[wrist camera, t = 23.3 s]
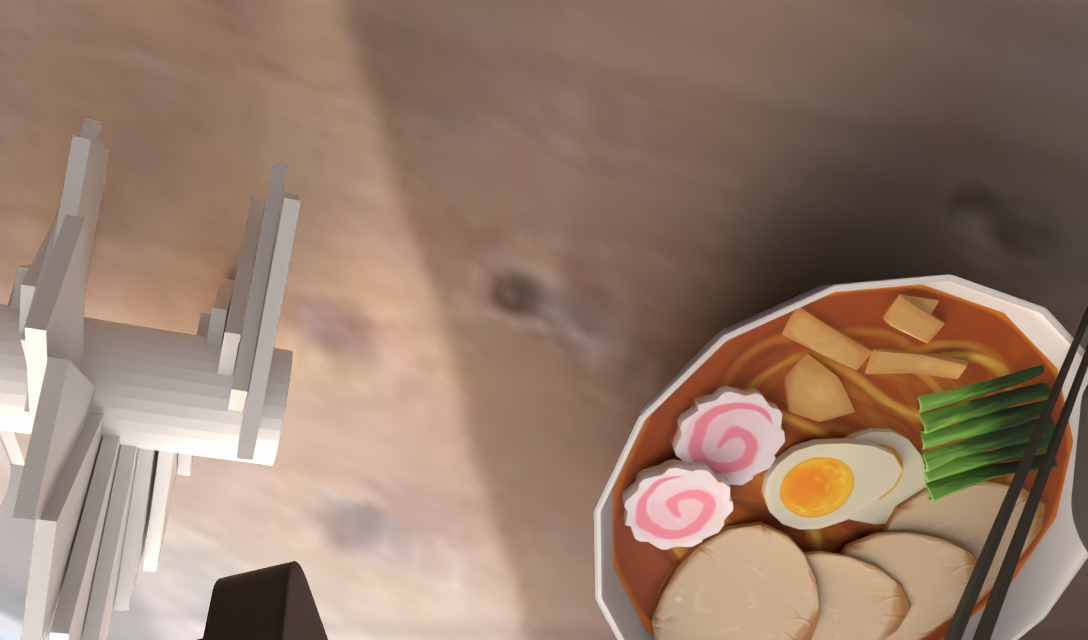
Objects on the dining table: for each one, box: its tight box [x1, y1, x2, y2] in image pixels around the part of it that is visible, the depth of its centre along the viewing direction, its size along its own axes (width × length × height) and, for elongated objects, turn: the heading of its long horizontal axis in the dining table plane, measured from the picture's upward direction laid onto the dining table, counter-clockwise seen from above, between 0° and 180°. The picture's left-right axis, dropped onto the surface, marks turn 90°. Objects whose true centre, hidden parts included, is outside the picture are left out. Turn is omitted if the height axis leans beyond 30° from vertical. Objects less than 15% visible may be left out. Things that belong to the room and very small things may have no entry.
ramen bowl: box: [594, 274, 1088, 640], centre depth 45 cm, size 25×23×8 cm
